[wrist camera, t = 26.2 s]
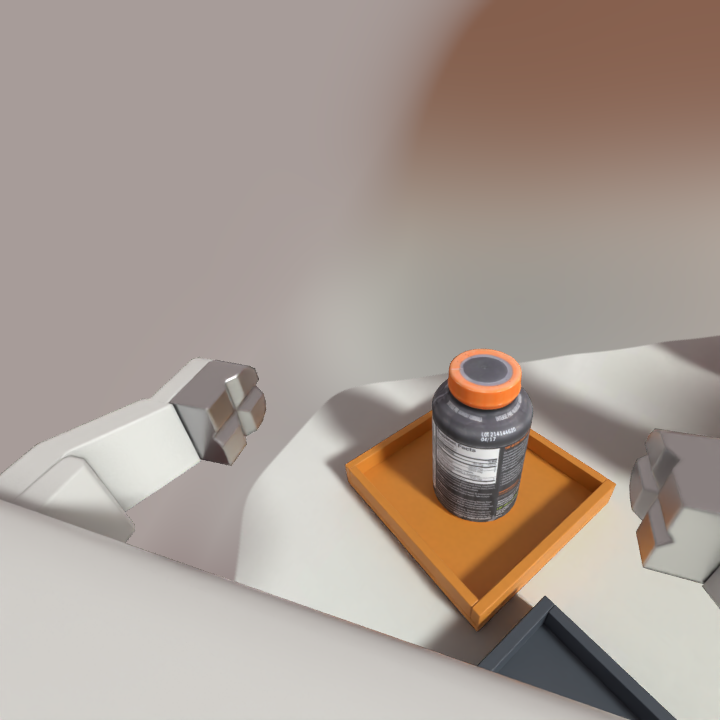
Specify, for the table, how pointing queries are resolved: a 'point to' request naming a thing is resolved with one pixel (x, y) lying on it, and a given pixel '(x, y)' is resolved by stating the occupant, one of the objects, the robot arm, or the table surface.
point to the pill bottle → (480, 435)
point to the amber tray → (478, 539)
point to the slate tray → (569, 665)
